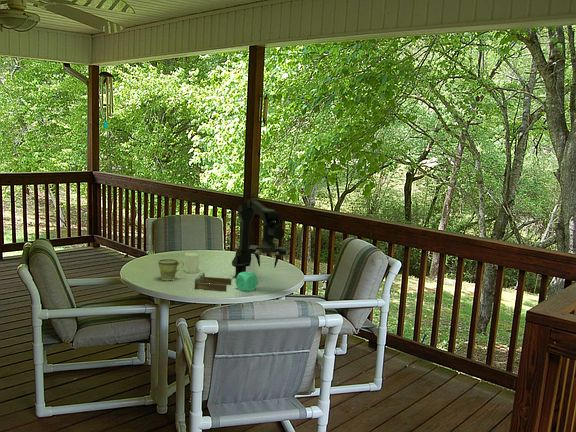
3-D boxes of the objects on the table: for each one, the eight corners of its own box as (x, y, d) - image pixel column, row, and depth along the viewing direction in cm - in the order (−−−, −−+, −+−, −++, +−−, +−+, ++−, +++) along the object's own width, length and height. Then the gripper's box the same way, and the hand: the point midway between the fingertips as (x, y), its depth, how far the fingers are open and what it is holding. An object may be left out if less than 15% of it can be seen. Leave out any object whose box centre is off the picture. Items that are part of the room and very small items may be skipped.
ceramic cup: (158, 282, 281) (158, 262, 280) (157, 277, 290) (157, 258, 289) (184, 281, 284) (184, 262, 283) (182, 276, 294) (183, 258, 293)
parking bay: (201, 282, 285) (201, 272, 284) (231, 284, 284) (231, 274, 283) (194, 289, 271) (194, 279, 271) (225, 291, 270) (226, 281, 269)
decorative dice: (247, 286, 282) (248, 271, 281) (257, 290, 276) (258, 274, 275) (235, 288, 277) (235, 272, 276) (244, 292, 271) (245, 276, 270)
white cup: (181, 271, 306) (182, 253, 304) (193, 269, 311) (193, 252, 310) (189, 274, 300) (190, 256, 299) (201, 272, 306) (202, 254, 304)
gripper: (247, 237, 265) (245, 269, 267) (285, 239, 263) (284, 272, 265) (250, 233, 276) (249, 264, 278) (288, 236, 274) (286, 267, 276)
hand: (267, 267), depth 274 cm, fingers open, 7 cm apart
